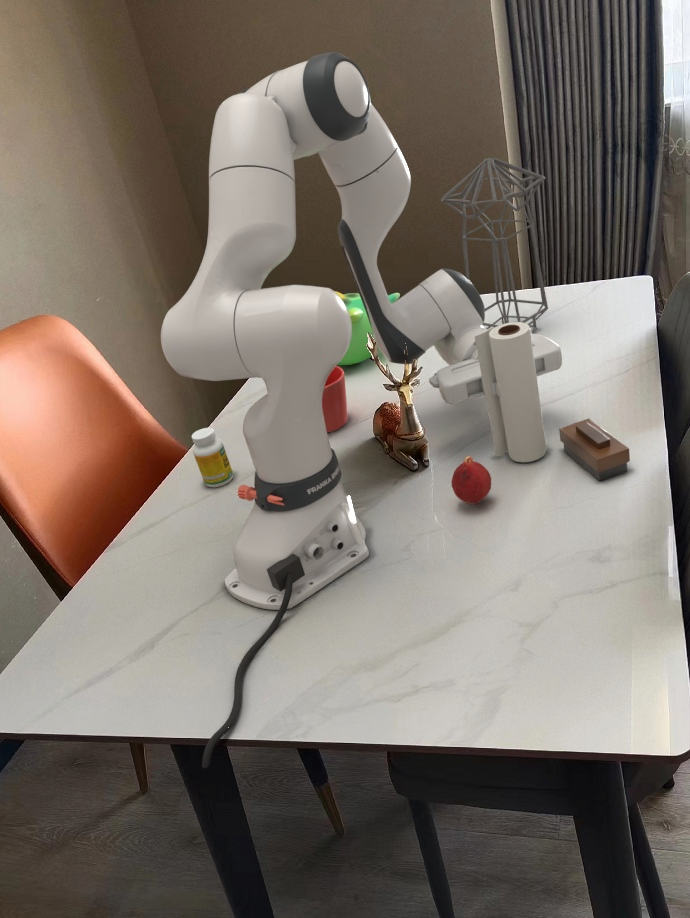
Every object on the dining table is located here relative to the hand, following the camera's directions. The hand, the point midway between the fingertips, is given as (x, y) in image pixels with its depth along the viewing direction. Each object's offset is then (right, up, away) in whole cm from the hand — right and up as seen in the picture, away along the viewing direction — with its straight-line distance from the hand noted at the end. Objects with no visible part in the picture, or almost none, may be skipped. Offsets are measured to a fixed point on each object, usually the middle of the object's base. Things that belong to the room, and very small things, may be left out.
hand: (518, 387), depth 131 cm
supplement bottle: (-50, -13, +22) cm, 56 cm away
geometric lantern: (+6, +19, +49) cm, 53 cm away
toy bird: (-26, +15, +55) cm, 63 cm away
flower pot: (-31, -2, +32) cm, 45 cm away
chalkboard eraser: (+12, -11, +1) cm, 16 cm away
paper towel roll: (+2, -9, +7) cm, 12 cm away
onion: (-7, -18, -2) cm, 19 cm away
